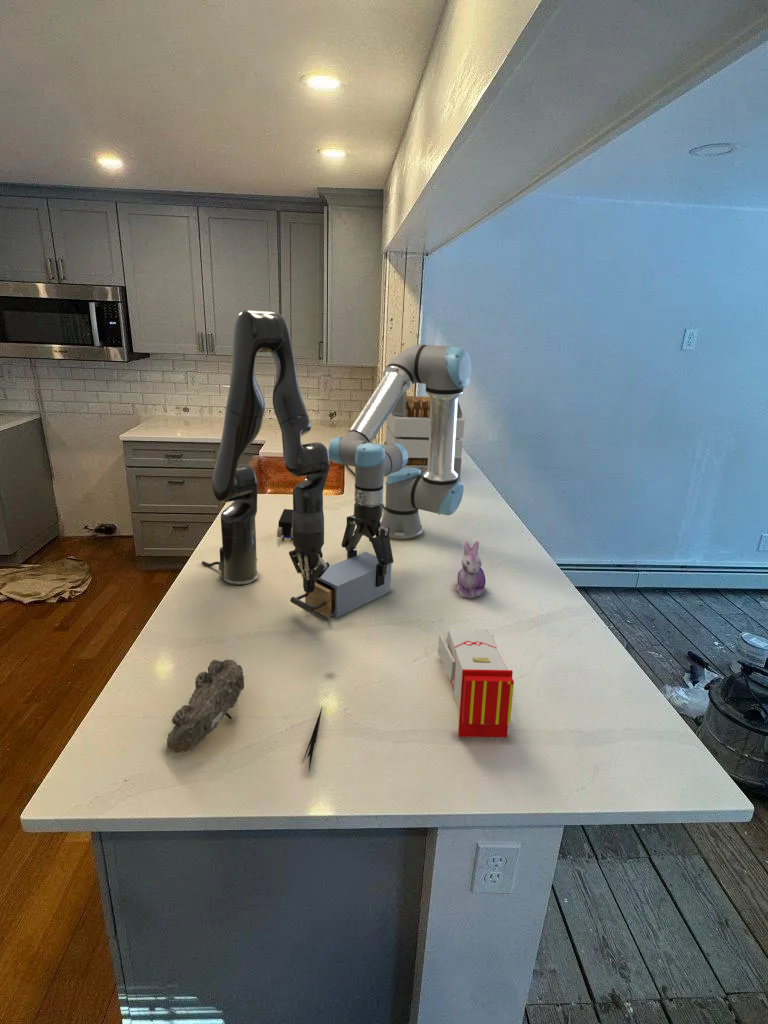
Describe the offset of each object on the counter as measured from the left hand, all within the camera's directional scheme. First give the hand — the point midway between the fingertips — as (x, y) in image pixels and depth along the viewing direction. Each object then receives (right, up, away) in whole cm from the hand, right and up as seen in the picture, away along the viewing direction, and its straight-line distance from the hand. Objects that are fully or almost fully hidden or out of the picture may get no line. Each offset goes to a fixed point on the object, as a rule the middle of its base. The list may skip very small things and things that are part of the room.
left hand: (309, 591), depth 141 cm
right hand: (+14, +1, +16) cm, 21 cm away
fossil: (-14, -19, -33) cm, 41 cm away
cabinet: (+10, -4, +14) cm, 17 cm away
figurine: (+43, -3, +20) cm, 48 cm away
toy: (+37, -18, -22) cm, 46 cm away
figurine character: (-14, +11, +53) cm, 55 cm away
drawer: (+6, -4, +9) cm, 12 cm away
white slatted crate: (+36, +39, +134) cm, 144 cm away
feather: (+6, -20, -32) cm, 39 cm away
